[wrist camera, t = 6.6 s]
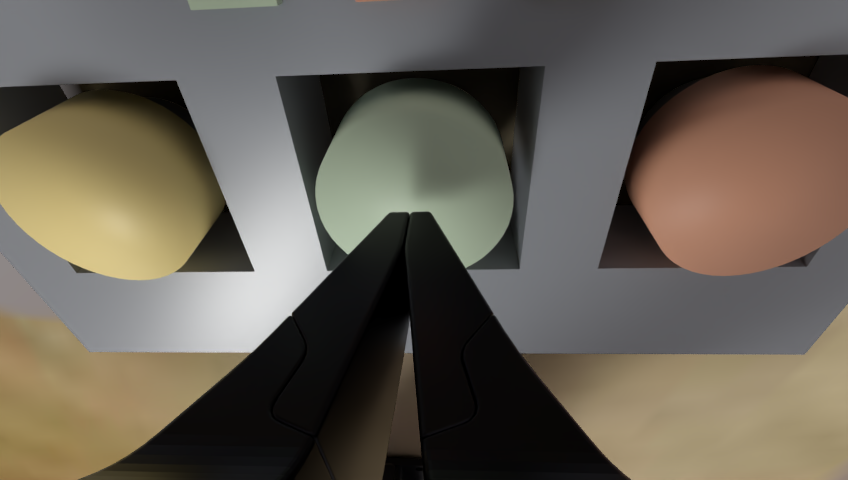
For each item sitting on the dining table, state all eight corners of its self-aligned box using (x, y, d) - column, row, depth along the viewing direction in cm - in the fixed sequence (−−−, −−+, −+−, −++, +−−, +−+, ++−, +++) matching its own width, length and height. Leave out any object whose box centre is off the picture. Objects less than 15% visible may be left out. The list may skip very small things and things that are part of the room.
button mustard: (263, 206, 14) (219, 279, 11) (134, 209, 14) (62, 280, 11) (214, 67, 11) (141, 120, 8) (56, 73, 11) (-64, 127, 9)
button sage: (494, 202, 13) (506, 277, 11) (356, 205, 14) (334, 278, 11) (503, 56, 11) (523, 108, 8) (331, 62, 11) (293, 115, 8)
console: (751, 287, 16) (810, 362, 13) (137, 290, 17) (83, 359, 15) (1066, -224, 8) (1383, -287, 5) (-149, -133, 9) (-383, -146, 7)
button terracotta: (742, 198, 13) (818, 275, 10) (594, 200, 13) (631, 276, 10) (819, 43, 10) (952, 94, 7) (631, 51, 10) (694, 102, 8)
